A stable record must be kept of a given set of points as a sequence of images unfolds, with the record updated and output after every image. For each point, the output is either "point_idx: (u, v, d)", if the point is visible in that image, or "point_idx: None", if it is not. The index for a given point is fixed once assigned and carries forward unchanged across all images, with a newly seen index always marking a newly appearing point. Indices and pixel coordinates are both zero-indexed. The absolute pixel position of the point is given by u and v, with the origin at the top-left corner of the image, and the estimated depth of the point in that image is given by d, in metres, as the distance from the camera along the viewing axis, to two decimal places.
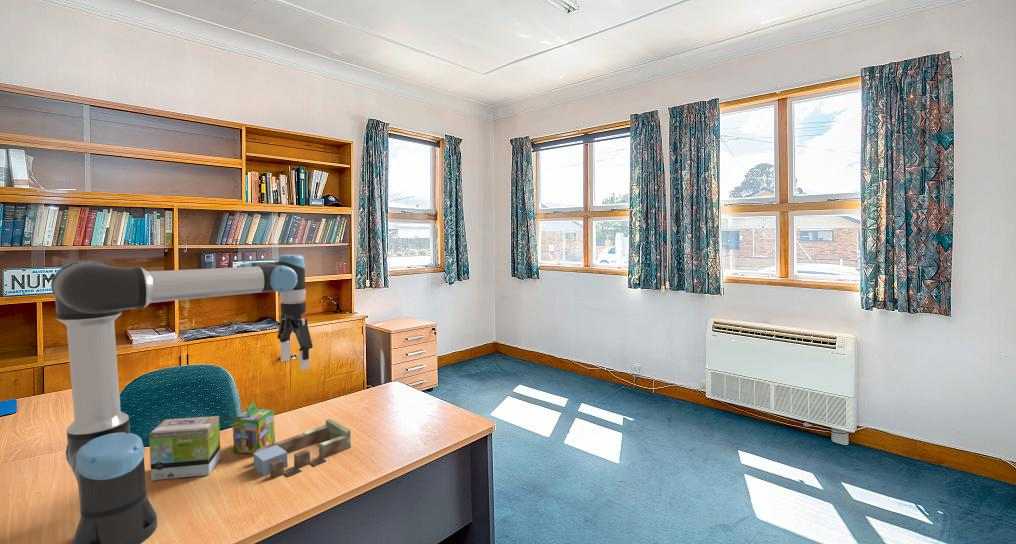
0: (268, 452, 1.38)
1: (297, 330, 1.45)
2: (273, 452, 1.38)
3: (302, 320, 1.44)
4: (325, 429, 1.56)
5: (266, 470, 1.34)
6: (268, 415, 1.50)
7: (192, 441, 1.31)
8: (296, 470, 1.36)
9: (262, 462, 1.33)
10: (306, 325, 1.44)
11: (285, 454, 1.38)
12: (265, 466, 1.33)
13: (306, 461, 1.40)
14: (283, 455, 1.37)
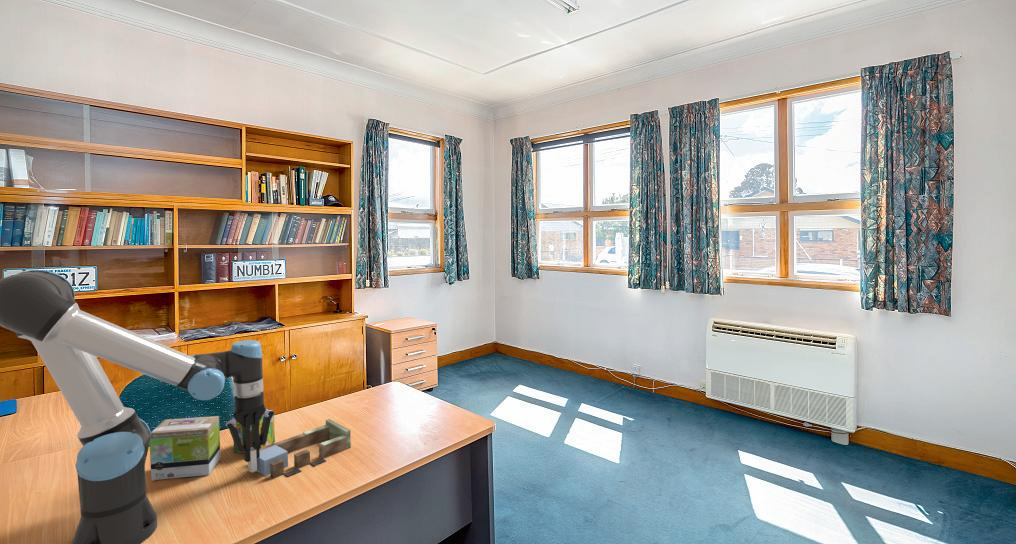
0: (268, 452, 1.38)
1: (242, 428, 1.31)
2: (273, 452, 1.38)
3: (226, 425, 1.27)
4: (325, 429, 1.56)
5: (268, 470, 1.34)
6: None
7: (192, 441, 1.31)
8: (296, 470, 1.36)
9: (263, 462, 1.33)
10: (231, 430, 1.28)
11: (286, 453, 1.38)
12: (267, 465, 1.33)
13: (306, 461, 1.40)
14: (284, 454, 1.38)
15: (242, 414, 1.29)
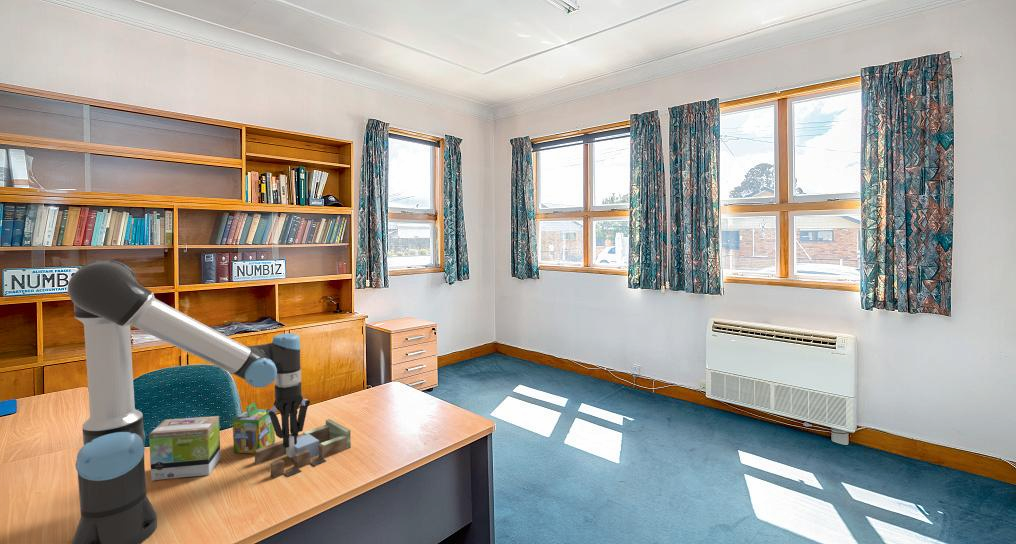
0: (301, 440, 1.45)
1: (281, 415, 1.40)
2: (305, 440, 1.45)
3: (267, 413, 1.36)
4: (325, 429, 1.56)
5: None
6: (268, 415, 1.50)
7: (192, 441, 1.31)
8: (296, 470, 1.36)
9: (296, 449, 1.41)
10: (272, 418, 1.36)
11: (317, 442, 1.45)
12: None
13: (306, 461, 1.40)
14: (316, 443, 1.45)
15: (282, 402, 1.38)
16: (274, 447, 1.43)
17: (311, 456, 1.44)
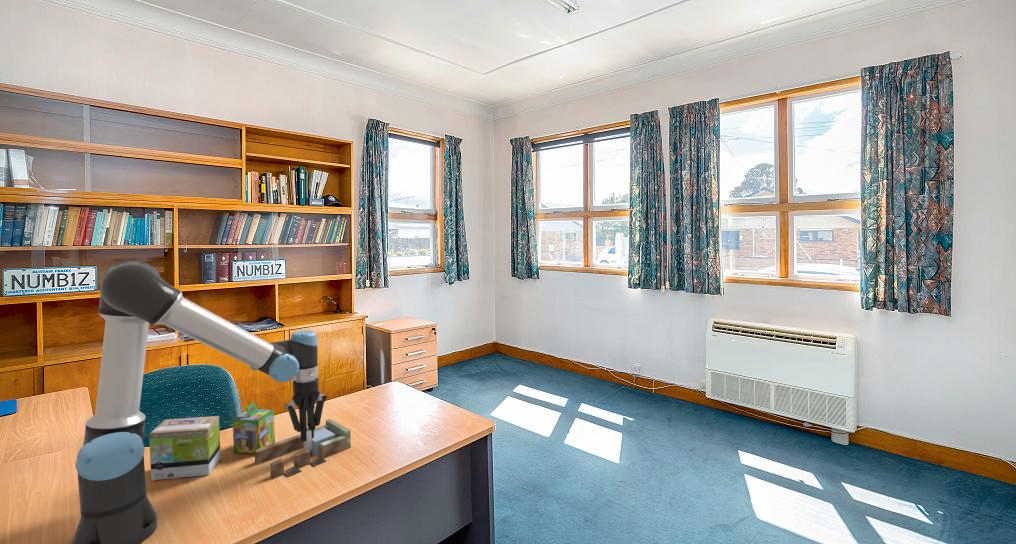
0: (317, 434, 1.50)
1: (299, 410, 1.44)
2: (322, 434, 1.50)
3: (286, 407, 1.40)
4: None
5: (317, 450, 1.46)
6: (268, 415, 1.50)
7: (192, 441, 1.31)
8: (296, 470, 1.36)
9: (314, 443, 1.45)
10: (291, 412, 1.41)
11: (333, 436, 1.50)
12: (317, 446, 1.45)
13: (306, 461, 1.40)
14: (332, 437, 1.49)
15: (300, 397, 1.42)
16: (274, 447, 1.43)
17: None
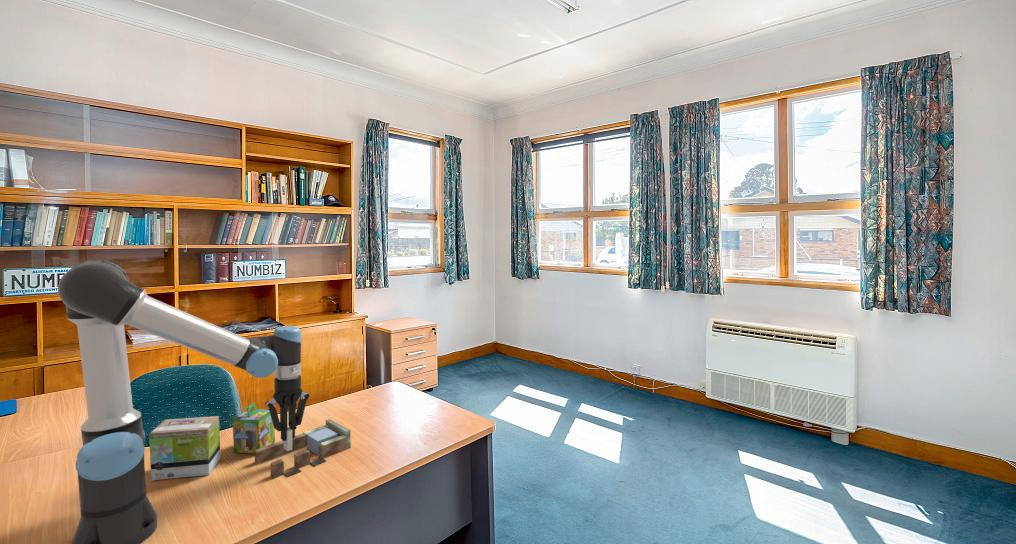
0: (320, 433, 1.50)
1: (280, 408, 1.40)
2: (324, 434, 1.50)
3: (266, 405, 1.36)
4: None
5: None
6: (268, 415, 1.50)
7: (192, 441, 1.31)
8: (296, 470, 1.36)
9: (316, 442, 1.46)
10: (271, 410, 1.36)
11: (336, 435, 1.50)
12: None
13: (306, 461, 1.40)
14: (335, 436, 1.50)
15: (281, 395, 1.38)
16: (274, 447, 1.43)
17: None
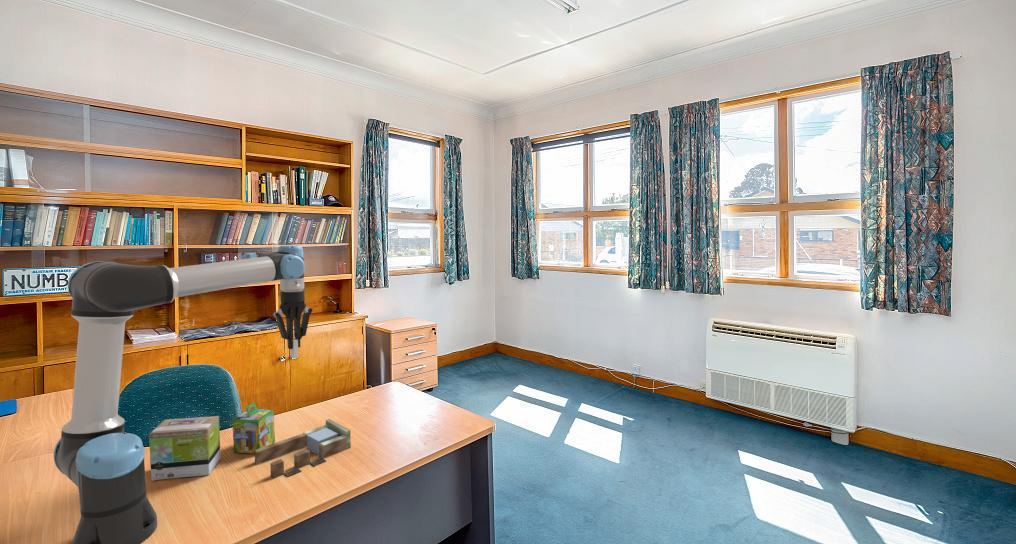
0: (320, 433, 1.50)
1: (286, 319, 1.54)
2: (324, 433, 1.50)
3: (274, 314, 1.50)
4: None
5: None
6: (268, 415, 1.50)
7: (192, 441, 1.31)
8: (296, 470, 1.36)
9: (317, 442, 1.46)
10: (278, 319, 1.50)
11: (336, 435, 1.50)
12: None
13: (306, 461, 1.40)
14: (335, 436, 1.50)
15: (287, 306, 1.52)
16: (274, 447, 1.43)
17: None
